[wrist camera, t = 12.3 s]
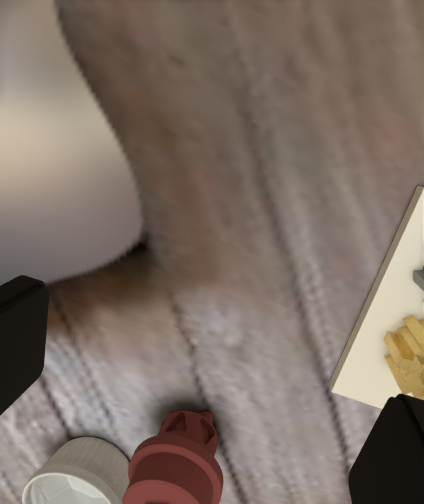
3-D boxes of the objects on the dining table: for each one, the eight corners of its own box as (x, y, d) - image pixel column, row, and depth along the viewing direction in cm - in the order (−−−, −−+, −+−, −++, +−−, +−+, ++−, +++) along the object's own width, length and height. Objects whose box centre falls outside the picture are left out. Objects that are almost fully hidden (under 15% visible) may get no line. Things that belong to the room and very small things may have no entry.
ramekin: (94, 412, 45) (62, 456, 39) (161, 479, 47) (142, 533, 40) (39, 453, 50) (2, 499, 43) (102, 514, 51) (75, 568, 44)
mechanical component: (218, 467, 44) (146, 437, 45) (243, 409, 41) (165, 378, 41) (195, 581, 32) (99, 538, 33) (228, 514, 29) (120, 467, 30)
